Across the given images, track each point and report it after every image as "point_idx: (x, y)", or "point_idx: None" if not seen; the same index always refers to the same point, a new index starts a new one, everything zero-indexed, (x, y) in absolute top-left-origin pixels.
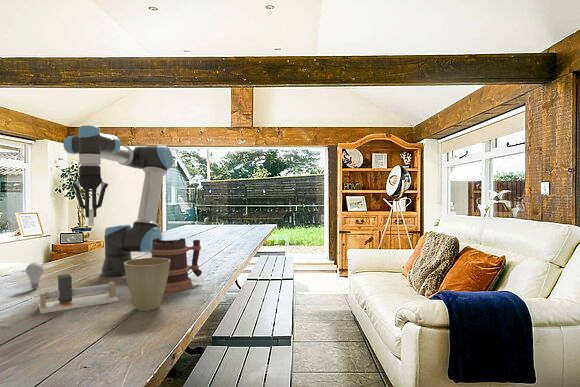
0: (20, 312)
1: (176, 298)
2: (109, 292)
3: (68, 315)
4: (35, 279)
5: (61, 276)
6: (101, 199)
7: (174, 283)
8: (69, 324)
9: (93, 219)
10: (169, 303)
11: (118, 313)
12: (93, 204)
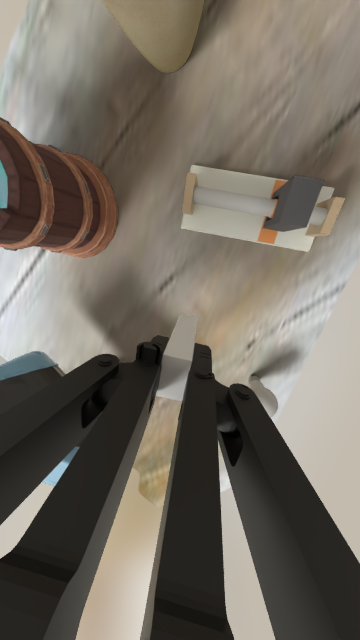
0: (346, 232)
1: (93, 82)
2: (193, 204)
3: (306, 124)
4: (259, 384)
5: (311, 197)
6: (50, 397)
7: (66, 155)
8: (344, 28)
9: (176, 325)
10: (119, 41)
11: (233, 42)
12: (150, 381)
